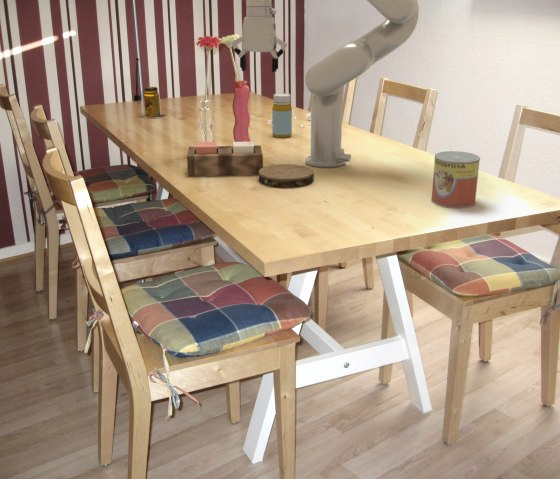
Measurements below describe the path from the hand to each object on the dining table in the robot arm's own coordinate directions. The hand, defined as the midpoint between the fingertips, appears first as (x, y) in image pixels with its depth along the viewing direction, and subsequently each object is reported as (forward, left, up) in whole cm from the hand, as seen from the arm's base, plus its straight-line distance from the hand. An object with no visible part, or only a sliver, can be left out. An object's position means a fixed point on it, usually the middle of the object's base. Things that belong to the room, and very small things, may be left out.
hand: (259, 71), depth 214 cm
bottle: (+13, -30, -28) cm, 43 cm away
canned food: (-68, +7, -28) cm, 74 cm away
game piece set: (+23, -51, -28) cm, 63 cm away
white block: (-4, +14, -25) cm, 29 cm away
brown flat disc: (-21, +16, -28) cm, 39 cm away
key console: (0, +18, -28) cm, 33 cm away
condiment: (+78, -30, -28) cm, 88 cm away
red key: (+4, +21, -24) cm, 33 cm away
